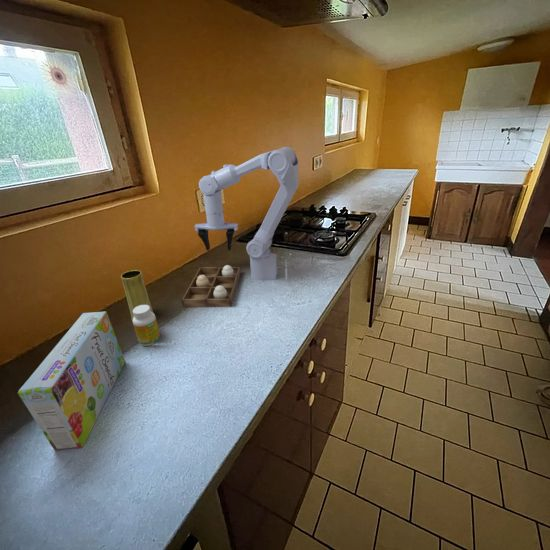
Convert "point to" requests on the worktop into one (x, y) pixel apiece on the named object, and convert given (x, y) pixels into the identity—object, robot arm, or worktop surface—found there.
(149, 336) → the supplement bottle
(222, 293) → the cream egg near
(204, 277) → the beige egg
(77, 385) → the snack box
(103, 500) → the worktop surface
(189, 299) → the egg tray
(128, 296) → the vase
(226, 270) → the cream egg far
